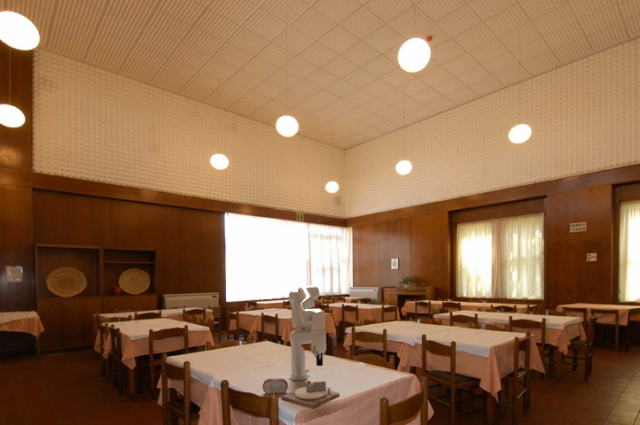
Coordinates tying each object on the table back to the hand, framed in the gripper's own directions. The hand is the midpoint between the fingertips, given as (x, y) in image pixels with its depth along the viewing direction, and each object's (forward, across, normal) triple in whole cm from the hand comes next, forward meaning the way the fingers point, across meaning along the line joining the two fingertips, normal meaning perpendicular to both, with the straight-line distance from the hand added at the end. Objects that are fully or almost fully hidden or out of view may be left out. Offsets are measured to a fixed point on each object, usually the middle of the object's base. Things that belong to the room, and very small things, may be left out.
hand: (319, 365), depth 218 cm
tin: (+19, +2, -31) cm, 36 cm away
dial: (+17, -2, -8) cm, 19 cm away
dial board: (+19, -2, -8) cm, 21 cm away
